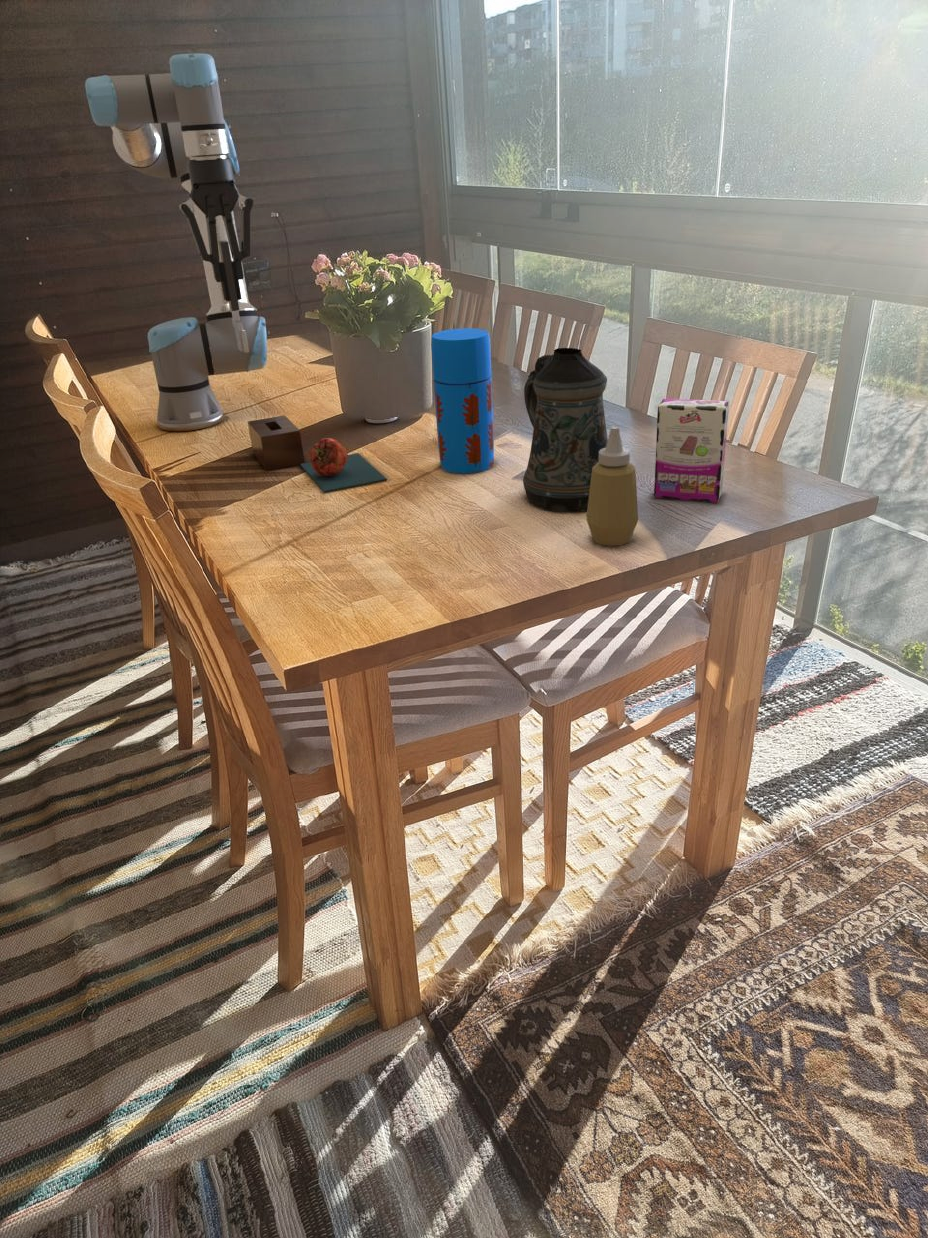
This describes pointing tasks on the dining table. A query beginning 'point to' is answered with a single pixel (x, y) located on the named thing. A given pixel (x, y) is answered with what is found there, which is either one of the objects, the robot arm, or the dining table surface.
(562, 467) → the beer stein
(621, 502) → the squeeze bottle
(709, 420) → the candy bar box
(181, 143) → the robot arm
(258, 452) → the fork stand
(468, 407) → the thermos
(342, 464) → the red round fruit
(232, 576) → the dining table surface
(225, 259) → the fork
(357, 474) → the mat
